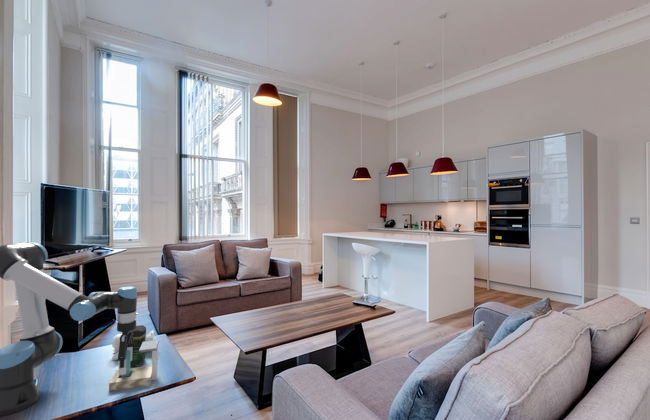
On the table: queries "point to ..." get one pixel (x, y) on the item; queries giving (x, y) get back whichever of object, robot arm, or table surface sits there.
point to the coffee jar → (138, 345)
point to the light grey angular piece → (154, 348)
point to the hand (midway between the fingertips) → (125, 367)
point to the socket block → (132, 379)
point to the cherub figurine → (117, 342)
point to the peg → (127, 364)
